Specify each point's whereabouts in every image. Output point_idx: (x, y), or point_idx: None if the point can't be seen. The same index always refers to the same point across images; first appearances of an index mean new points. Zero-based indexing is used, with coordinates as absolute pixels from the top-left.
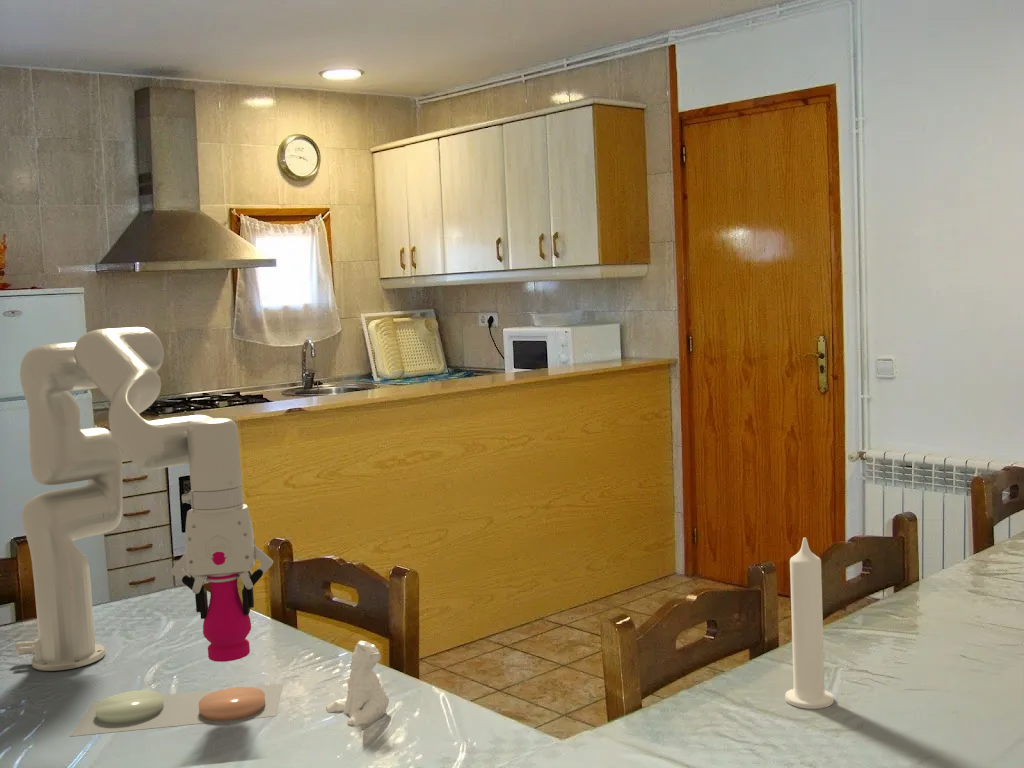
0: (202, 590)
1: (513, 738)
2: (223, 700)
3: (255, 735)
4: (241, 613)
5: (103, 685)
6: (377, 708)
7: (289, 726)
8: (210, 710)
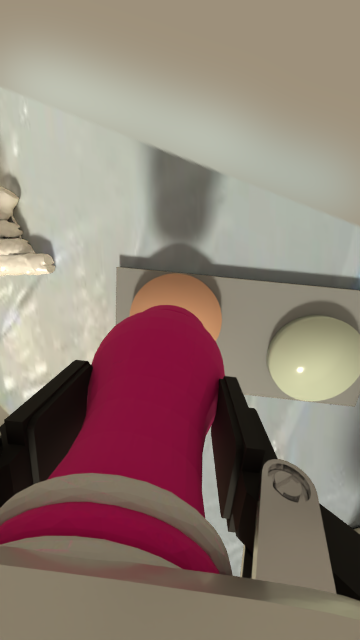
0: (246, 481)
1: None
2: None
3: (145, 234)
4: (96, 363)
5: (332, 468)
6: None
7: (102, 251)
8: (204, 285)
